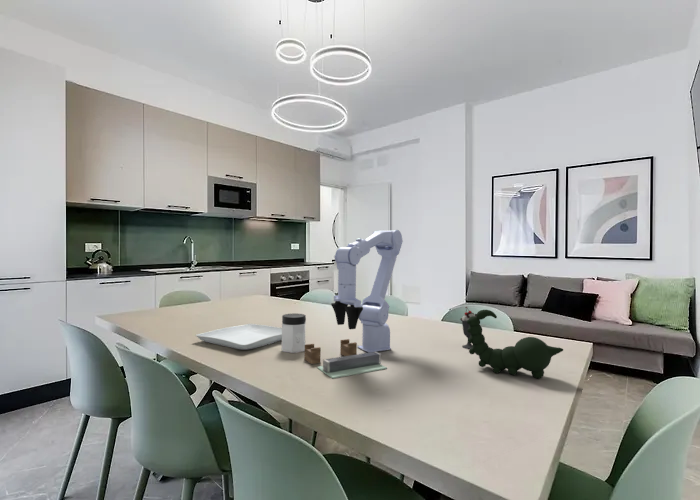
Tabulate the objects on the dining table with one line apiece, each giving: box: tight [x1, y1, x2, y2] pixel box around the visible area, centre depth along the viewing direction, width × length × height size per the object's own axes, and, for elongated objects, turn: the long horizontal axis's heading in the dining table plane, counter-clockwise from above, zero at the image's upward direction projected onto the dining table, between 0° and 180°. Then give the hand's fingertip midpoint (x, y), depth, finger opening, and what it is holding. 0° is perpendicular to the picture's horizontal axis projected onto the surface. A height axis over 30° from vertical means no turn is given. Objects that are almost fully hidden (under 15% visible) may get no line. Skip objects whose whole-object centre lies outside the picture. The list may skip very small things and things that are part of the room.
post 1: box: [303, 343, 322, 365], centre depth 115 cm, size 3×6×5 cm, turn 30°
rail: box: [322, 352, 382, 373], centre depth 109 cm, size 18×3×3 cm, turn 120°
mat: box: [316, 364, 388, 379], centre depth 109 cm, size 18×10×1 cm, turn 120°
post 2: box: [339, 338, 358, 357], centre depth 122 cm, size 3×6×5 cm, turn 30°
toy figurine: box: [467, 309, 564, 380], centre depth 106 cm, size 9×19×25 cm
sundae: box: [459, 306, 477, 350], centre depth 134 cm, size 7×7×15 cm
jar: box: [281, 313, 307, 354], centre depth 128 cm, size 9×8×12 cm
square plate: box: [194, 323, 282, 351], centre depth 140 cm, size 27×27×4 cm
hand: (346, 326), depth 118 cm, fingers open, 7 cm apart
